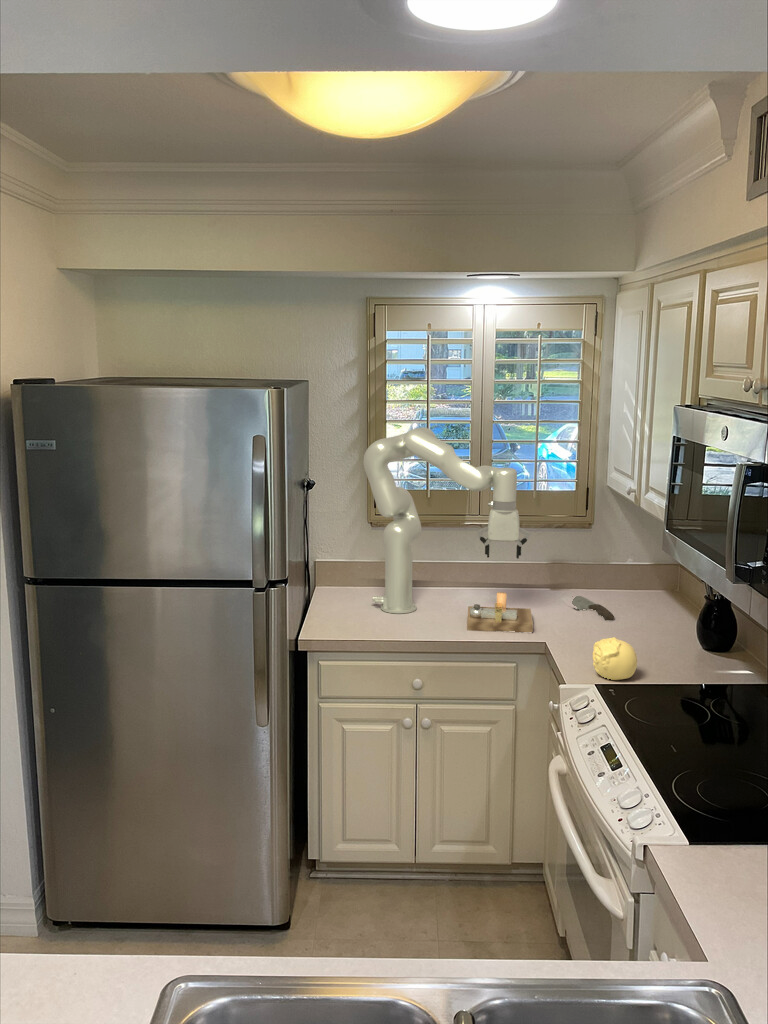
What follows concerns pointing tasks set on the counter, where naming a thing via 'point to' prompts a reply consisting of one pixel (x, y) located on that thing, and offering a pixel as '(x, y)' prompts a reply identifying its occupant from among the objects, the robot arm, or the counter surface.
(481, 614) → the latch bar
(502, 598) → the lock pin
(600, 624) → the counter surface
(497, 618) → the keeper
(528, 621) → the base plate
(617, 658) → the sculpture
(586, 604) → the cleaver
